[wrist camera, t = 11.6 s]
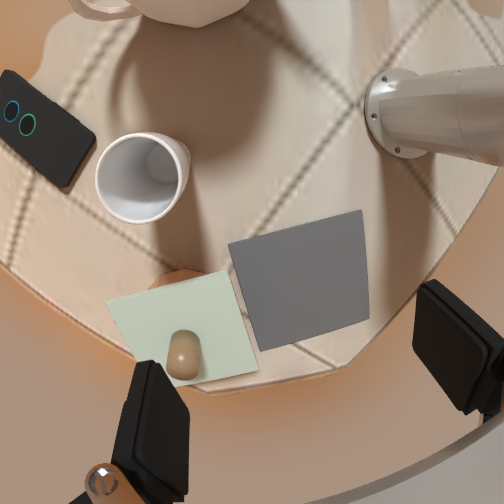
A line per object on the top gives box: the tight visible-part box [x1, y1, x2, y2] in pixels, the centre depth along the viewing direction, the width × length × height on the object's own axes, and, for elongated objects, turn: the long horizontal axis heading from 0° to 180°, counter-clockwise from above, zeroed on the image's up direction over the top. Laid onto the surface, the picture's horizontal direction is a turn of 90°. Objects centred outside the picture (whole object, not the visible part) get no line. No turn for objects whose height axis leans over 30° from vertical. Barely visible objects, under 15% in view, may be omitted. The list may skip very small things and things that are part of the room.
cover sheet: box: [105, 269, 259, 387], centre depth 33 cm, size 15×15×6 cm
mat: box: [228, 210, 369, 351], centre depth 41 cm, size 18×18×1 cm
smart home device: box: [0, 70, 96, 188], centre depth 28 cm, size 8×2×20 cm
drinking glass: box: [95, 132, 191, 225], centre depth 26 cm, size 7×7×15 cm
